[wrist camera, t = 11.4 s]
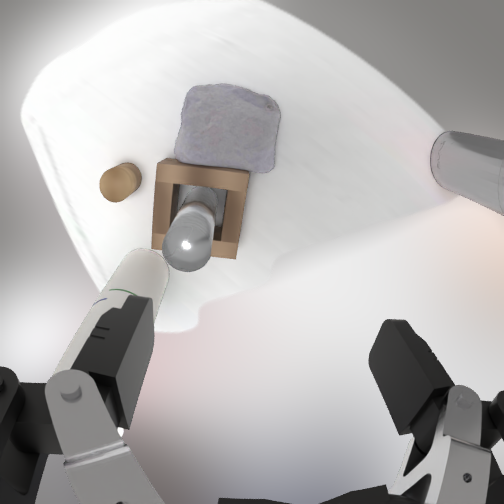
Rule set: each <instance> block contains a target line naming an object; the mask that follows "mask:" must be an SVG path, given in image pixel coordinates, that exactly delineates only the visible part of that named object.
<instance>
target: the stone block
mask: <svg viewBox="0 0 504 504" xmlns="http://www.w3.org/2000/svg"><path fill="white" fill-rule="evenodd" d="M280 117H281V115H280V110H279V109H278V105H277V104H276V102H275V101H274V100H272V99H271V98H270V96H267V95H262V94H257V93H254V92H252V91H250V90H248V89H245V88H242V87H238V86H233V85H229V84H216V85H206V86H194V87H192V88H191V89H190V90H189V92H188V93H187V95H186V98H185V101H184V106H183V108H182V112H181V119H182V122H181V127H180V130H179V133H178V137H177V139H176V143H175V148H174V154H175V157H176V159H177V160H178V161H179V162H182V163H188V164H195V165H204V166H213V167H226V168H234V169H241V170H247V171H251V172H258V173H267V172H269V171H271V170H272V169H273V168H274V155H275V153H274V151H275V142H276V137H277V132H278V124H279V121H280Z"/></svg>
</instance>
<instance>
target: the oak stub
mask: <svg viewBox="0 0 504 504" xmlns="http://www.w3.org/2000/svg"><path fill="white" fill-rule="evenodd" d="M141 178H142V177H141V173H140V170H139V169H138V168H137V167H136V166H135V165H134V164H131V163H123V164H120V165H118V166H116V167H114V168H111V169H109V170H107V171H106V172H105V173H104V174H103V175H102V177H101V179H100V191H101V193H102V195H103V196H104V197H105V198H106V199H107V200H109V201H111V202H120V201H123V200H124V199H125V198H127V197H128V196H129V195H131V194H132V193H133V192H134V191H136V190H137V189H138V188H139V186H140V184H141Z"/></svg>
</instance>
